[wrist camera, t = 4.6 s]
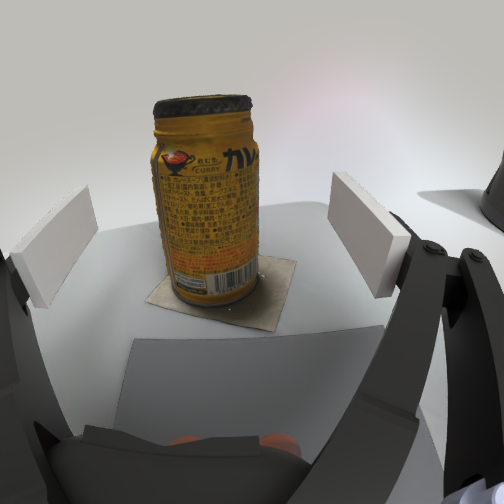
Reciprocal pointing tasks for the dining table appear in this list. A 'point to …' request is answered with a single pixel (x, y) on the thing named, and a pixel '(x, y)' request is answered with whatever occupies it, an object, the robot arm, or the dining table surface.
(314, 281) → the dining table surface
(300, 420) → the marker mat
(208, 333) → the dining table surface
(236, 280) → the condiment
